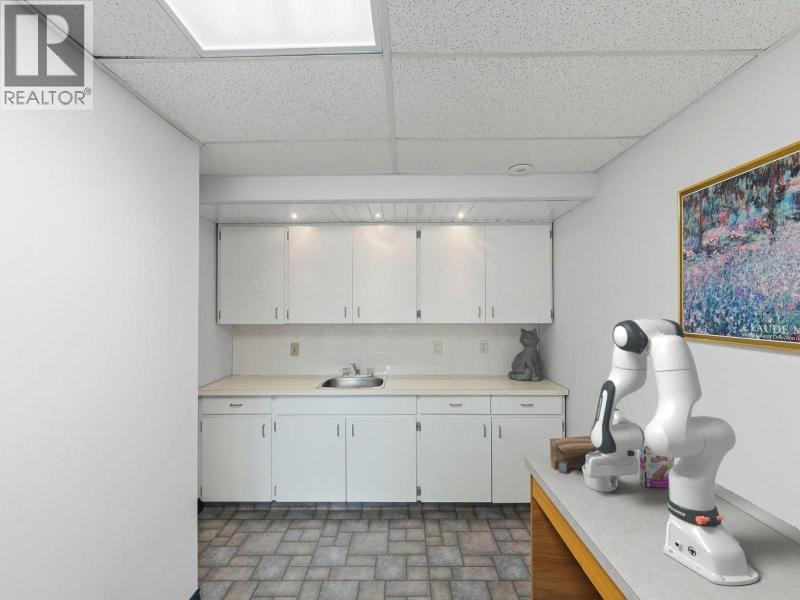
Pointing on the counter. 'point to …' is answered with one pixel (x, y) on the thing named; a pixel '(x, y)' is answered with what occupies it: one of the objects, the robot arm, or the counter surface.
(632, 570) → the counter surface
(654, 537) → the counter surface
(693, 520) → the robot arm
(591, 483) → the ramekin
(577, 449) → the walnut shelf
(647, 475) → the candy bar box
